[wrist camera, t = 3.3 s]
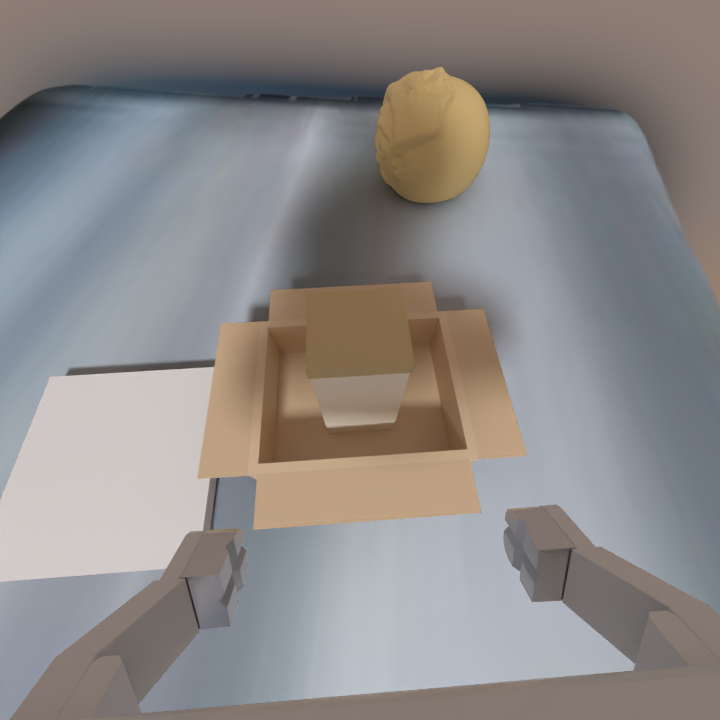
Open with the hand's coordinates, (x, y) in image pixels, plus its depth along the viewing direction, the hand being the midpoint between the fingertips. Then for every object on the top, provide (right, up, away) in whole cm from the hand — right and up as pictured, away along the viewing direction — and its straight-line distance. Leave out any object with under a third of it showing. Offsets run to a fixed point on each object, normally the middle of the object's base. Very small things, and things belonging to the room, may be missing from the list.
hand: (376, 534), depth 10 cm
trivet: (-18, -2, +15) cm, 23 cm away
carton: (-1, +2, +17) cm, 17 cm away
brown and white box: (-1, +2, +16) cm, 16 cm away
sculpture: (+7, +26, +30) cm, 41 cm away
